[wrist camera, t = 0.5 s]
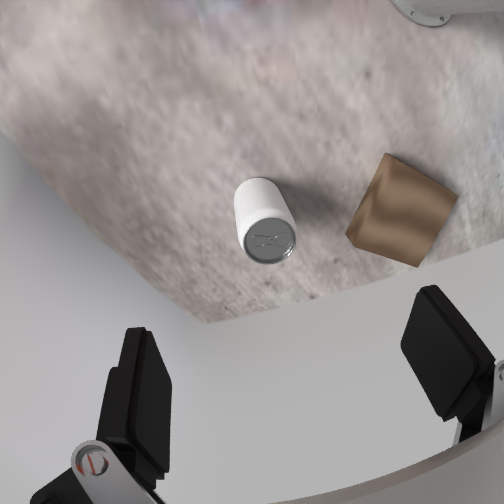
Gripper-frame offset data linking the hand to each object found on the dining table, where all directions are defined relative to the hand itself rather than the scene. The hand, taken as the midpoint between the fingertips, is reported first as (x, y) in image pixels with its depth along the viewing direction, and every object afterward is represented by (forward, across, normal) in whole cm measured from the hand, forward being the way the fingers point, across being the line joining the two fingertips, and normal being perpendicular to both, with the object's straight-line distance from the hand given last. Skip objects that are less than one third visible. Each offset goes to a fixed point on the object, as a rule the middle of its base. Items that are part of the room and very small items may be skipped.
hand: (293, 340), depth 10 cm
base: (+33, -25, +11) cm, 43 cm away
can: (+34, -3, +8) cm, 35 cm away
